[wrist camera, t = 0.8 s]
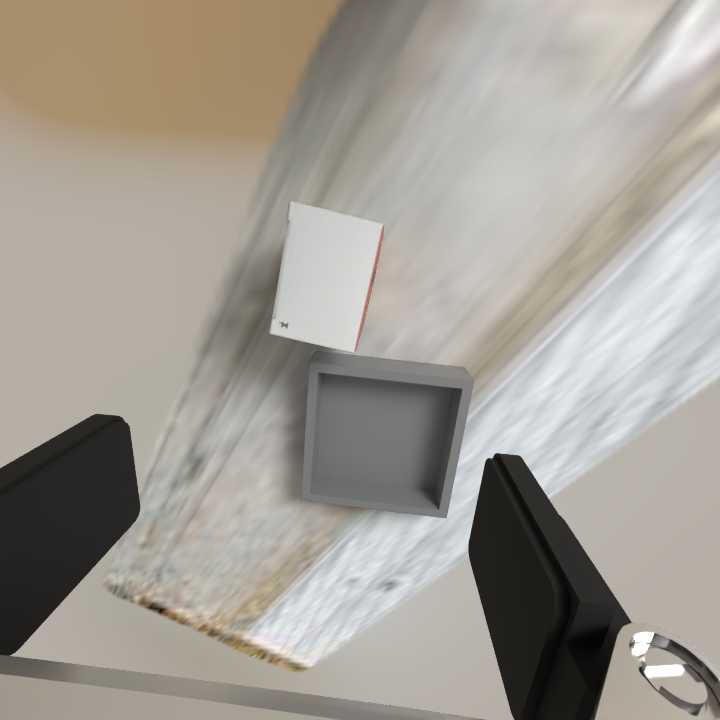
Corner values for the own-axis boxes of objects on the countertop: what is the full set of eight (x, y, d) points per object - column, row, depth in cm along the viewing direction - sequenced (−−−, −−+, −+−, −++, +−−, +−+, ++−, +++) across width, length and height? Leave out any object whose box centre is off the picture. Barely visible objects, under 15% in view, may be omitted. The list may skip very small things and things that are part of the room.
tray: (316, 351, 33) (309, 362, 30) (464, 367, 33) (474, 380, 29) (308, 477, 37) (301, 500, 34) (440, 494, 37) (446, 518, 33)
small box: (363, 325, 32) (355, 358, 22) (302, 310, 32) (266, 337, 22) (385, 232, 30) (386, 222, 20) (320, 216, 30) (287, 198, 20)
